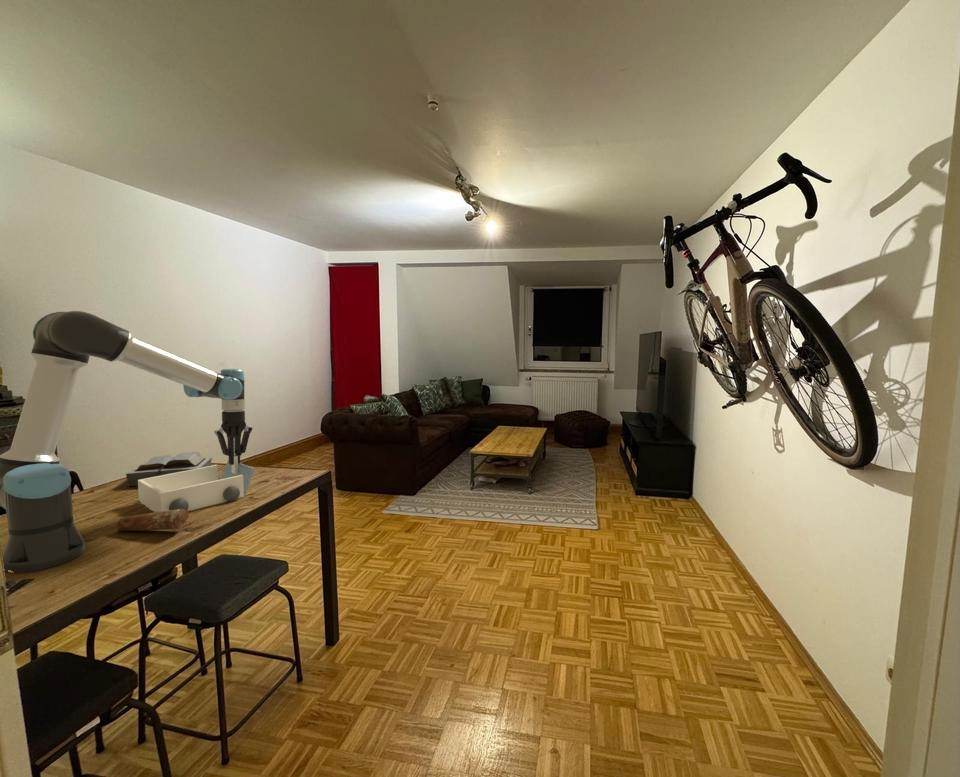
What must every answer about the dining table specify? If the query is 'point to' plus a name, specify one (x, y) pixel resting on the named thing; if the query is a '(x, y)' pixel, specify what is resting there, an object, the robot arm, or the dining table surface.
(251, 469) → the tailgate
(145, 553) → the dining table surface
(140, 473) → the bible
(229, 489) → the white toy wagon
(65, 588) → the dining table surface
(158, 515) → the bread
